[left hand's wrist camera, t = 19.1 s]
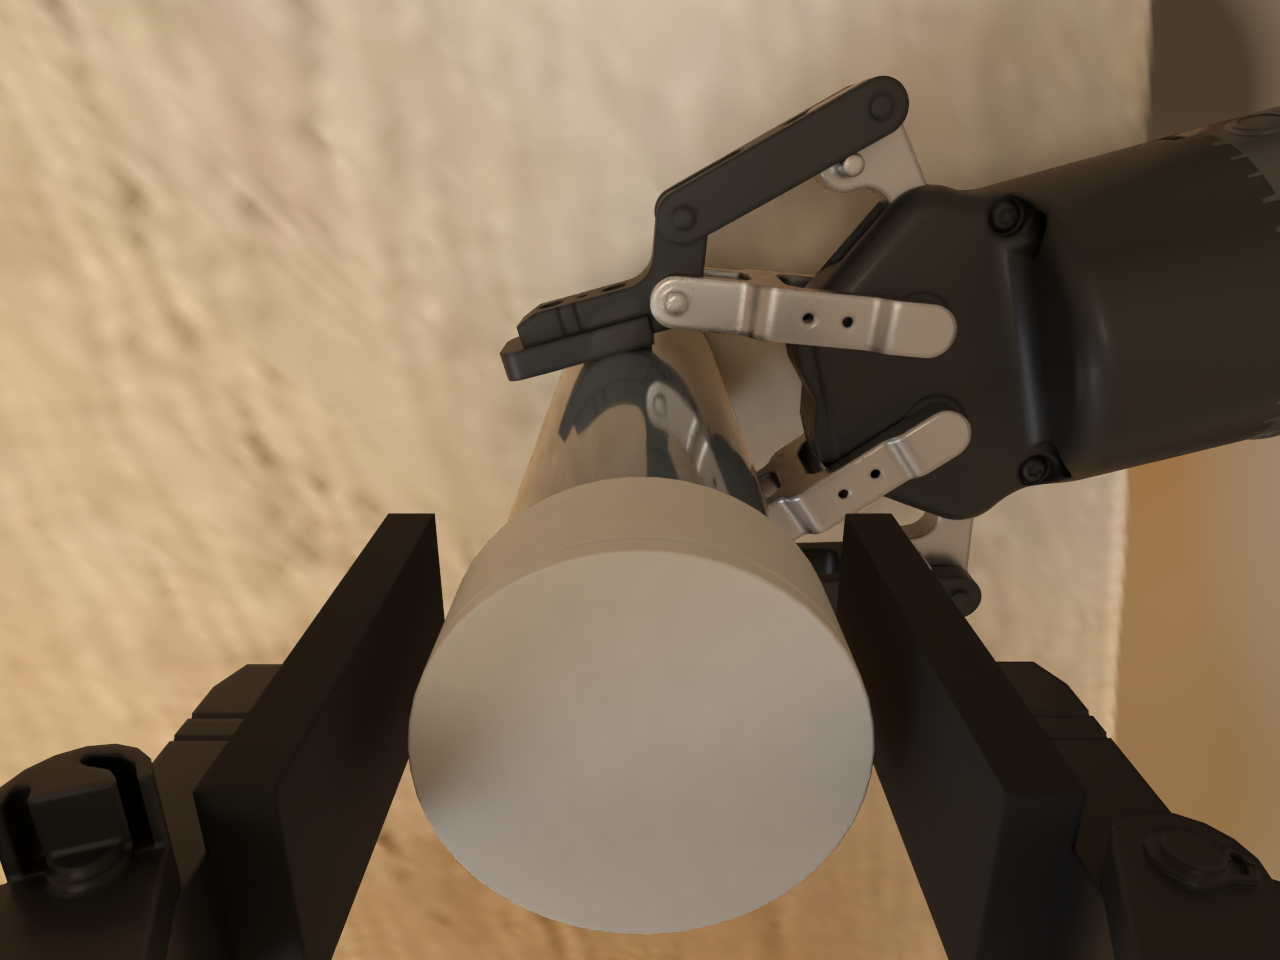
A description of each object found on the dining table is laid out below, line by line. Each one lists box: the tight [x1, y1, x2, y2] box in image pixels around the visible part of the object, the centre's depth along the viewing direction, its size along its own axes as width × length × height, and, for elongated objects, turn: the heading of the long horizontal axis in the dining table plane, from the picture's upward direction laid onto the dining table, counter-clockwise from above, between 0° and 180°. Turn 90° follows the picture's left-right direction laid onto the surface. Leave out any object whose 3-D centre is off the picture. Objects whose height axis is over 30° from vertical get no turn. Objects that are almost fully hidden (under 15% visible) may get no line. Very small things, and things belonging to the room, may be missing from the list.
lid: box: [408, 477, 875, 934], centre depth 11 cm, size 6×6×2 cm
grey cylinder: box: [507, 329, 775, 523], centre depth 20 cm, size 5×5×18 cm
